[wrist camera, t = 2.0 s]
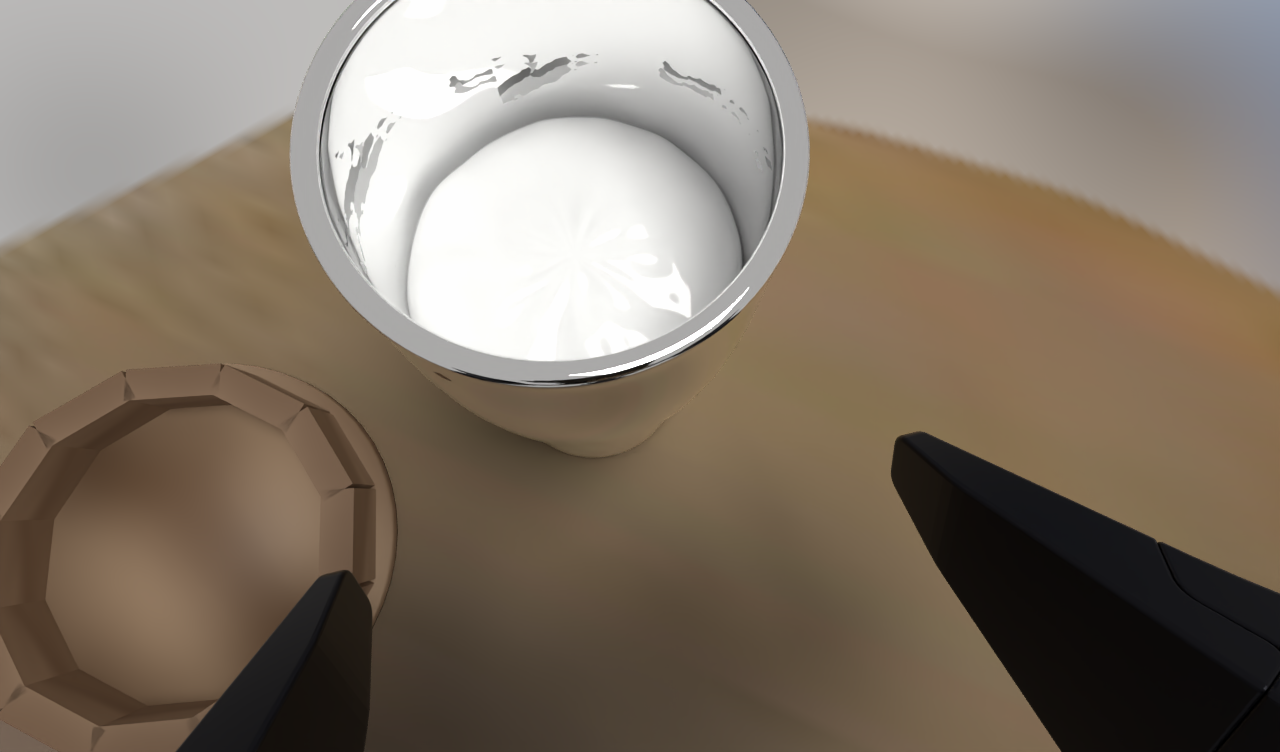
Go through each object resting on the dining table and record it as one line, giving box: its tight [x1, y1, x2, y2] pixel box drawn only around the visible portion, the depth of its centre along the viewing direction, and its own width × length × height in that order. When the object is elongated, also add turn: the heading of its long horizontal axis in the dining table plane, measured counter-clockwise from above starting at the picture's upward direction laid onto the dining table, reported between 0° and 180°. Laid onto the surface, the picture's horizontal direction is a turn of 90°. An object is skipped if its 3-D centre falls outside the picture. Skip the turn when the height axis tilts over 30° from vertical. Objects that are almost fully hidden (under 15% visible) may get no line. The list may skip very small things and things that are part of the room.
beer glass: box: [290, 0, 810, 458], centre depth 15 cm, size 7×7×15 cm
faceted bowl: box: [0, 364, 397, 752], centre depth 19 cm, size 12×12×2 cm
